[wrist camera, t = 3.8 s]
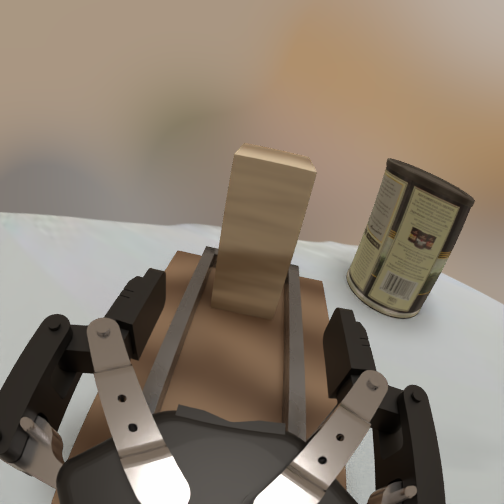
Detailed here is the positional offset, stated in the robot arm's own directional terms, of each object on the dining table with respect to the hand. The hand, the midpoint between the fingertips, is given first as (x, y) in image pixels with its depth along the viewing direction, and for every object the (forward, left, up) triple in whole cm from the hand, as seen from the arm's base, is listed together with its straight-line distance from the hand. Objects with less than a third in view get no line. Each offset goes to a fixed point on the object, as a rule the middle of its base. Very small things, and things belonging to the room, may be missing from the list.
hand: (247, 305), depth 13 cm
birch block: (+9, -2, -7) cm, 12 cm away
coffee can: (+12, -19, -8) cm, 24 cm away
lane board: (0, 0, -7) cm, 8 cm away
